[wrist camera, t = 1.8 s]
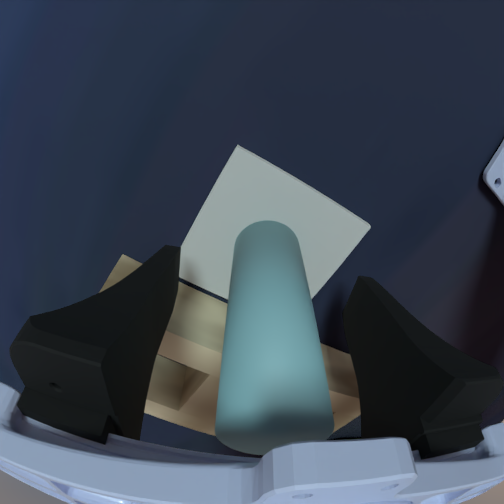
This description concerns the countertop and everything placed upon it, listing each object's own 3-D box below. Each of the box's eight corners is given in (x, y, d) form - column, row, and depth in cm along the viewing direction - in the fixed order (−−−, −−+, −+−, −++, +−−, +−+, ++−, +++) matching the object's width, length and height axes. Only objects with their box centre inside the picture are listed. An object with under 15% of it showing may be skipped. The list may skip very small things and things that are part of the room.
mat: (369, 224, 14) (371, 226, 14) (287, 322, 18) (287, 325, 17) (237, 144, 13) (236, 146, 12) (169, 268, 16) (168, 271, 16)
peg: (312, 240, 14) (359, 419, 7) (277, 285, 16) (289, 461, 8) (255, 208, 14) (252, 390, 6) (222, 259, 15) (196, 440, 7)
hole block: (364, 359, 19) (376, 403, 16) (294, 416, 23) (296, 453, 20) (122, 254, 15) (96, 297, 12) (93, 342, 19) (75, 382, 16)
